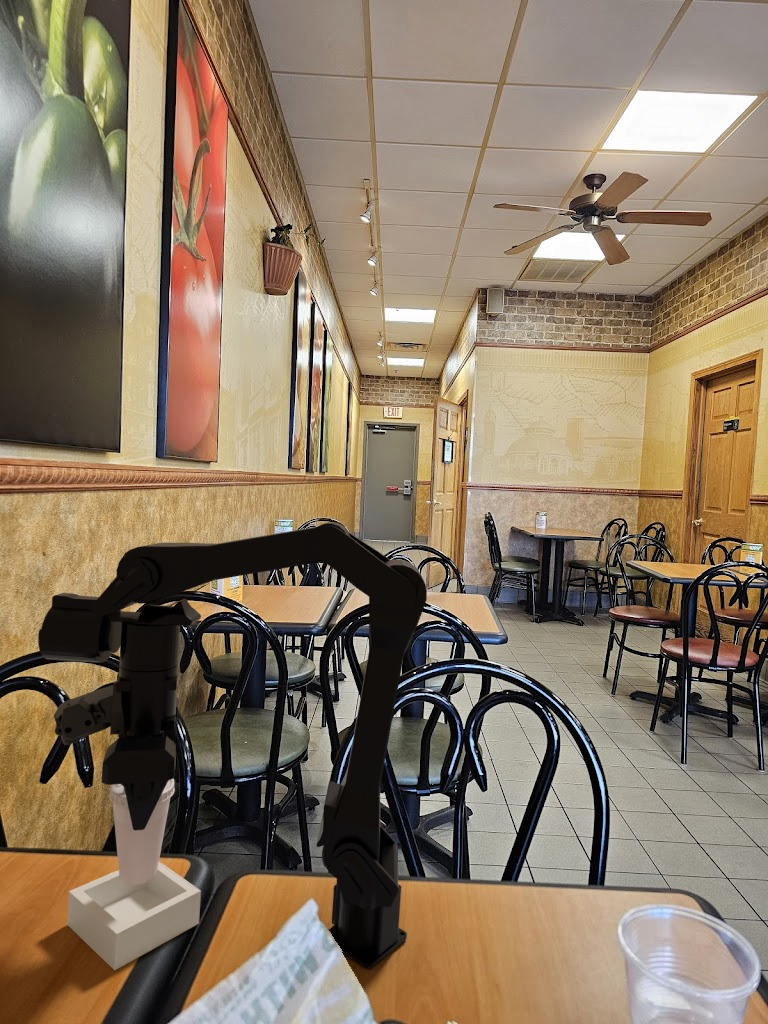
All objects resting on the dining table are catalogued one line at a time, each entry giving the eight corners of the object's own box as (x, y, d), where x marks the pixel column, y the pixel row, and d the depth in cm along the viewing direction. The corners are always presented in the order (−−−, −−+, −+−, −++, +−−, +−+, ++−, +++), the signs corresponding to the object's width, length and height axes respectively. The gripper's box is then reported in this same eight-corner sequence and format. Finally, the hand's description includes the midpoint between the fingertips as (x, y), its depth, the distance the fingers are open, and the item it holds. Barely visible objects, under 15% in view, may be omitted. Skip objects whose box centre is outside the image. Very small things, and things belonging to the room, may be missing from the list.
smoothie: (91, 878, 67) (97, 745, 66) (141, 849, 72) (147, 726, 71) (135, 901, 64) (142, 762, 63) (183, 868, 69) (190, 740, 68)
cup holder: (198, 923, 68) (200, 890, 68) (114, 970, 61) (116, 933, 61) (149, 885, 74) (151, 855, 74) (67, 924, 67) (68, 891, 67)
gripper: (79, 644, 74) (72, 780, 74) (43, 694, 56) (34, 873, 56) (181, 643, 77) (174, 773, 77) (178, 691, 59) (169, 860, 59)
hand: (141, 813), depth 67 cm, fingers closed on smoothie, 6 cm apart
